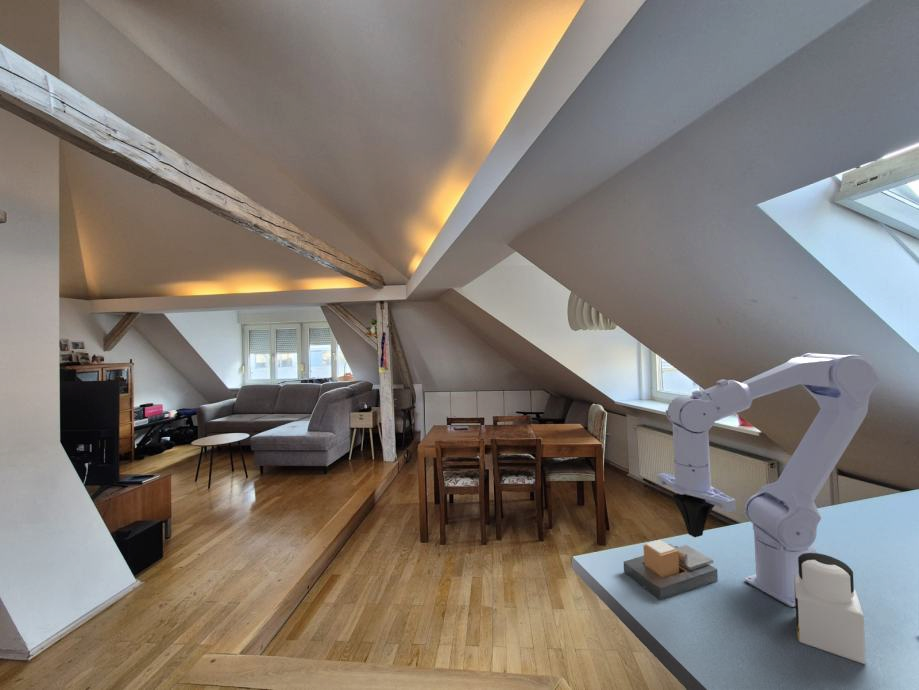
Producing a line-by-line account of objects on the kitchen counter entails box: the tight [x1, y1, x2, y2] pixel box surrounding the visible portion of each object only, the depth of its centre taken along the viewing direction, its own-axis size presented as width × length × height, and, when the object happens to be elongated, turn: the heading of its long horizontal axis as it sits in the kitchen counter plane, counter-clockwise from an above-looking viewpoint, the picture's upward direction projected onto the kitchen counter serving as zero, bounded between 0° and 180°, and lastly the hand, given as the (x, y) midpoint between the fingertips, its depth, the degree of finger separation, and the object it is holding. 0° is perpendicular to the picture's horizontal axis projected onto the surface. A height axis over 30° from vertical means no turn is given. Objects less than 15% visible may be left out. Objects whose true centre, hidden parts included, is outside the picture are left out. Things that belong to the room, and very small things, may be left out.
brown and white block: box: [643, 539, 679, 578], centre depth 74 cm, size 4×4×6 cm
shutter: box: [667, 543, 714, 570], centre depth 76 cm, size 6×6×2 cm
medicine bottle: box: [794, 552, 867, 665], centre depth 58 cm, size 7×7×12 cm
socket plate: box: [623, 545, 719, 601], centre depth 75 cm, size 14×9×2 cm, turn 108°
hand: (695, 534), depth 71 cm, fingers closed
